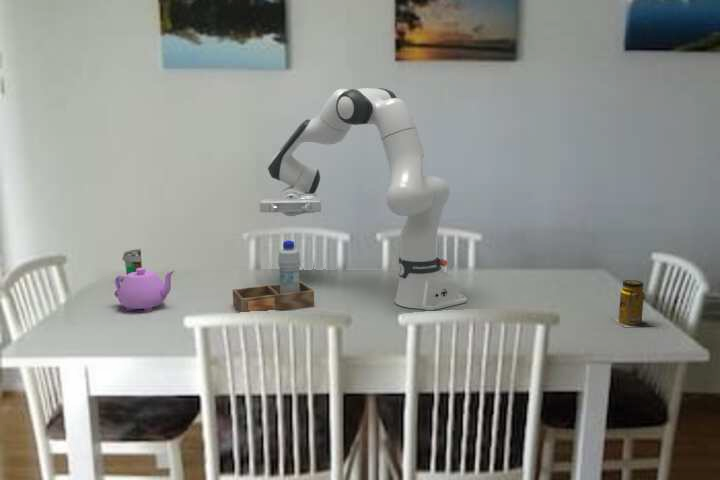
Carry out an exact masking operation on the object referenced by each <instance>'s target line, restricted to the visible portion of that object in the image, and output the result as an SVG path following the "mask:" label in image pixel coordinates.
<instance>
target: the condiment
mask: <svg viewBox="0 0 720 480" xmlns="http://www.w3.org/2000/svg"><path fill="white" fill-rule="evenodd" d="M644 298H645V293H644V283H643V281H640V280H635V279H625V280H623V281H622V289H621V290H620V298H619V309H618V318H613V321H615V322H616V323H618V324H619V325H620V326H622V327H624V328H638V327H639V328H640V327H654V326H655V325H654V324H652V323H650V322H648V321H647V320H645V319H643V311H644V309H643V308H644V300H645V299H644Z"/></svg>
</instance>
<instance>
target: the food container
mask: <svg viewBox="0 0 720 480" xmlns="http://www.w3.org/2000/svg"><path fill="white" fill-rule="evenodd" d="M121 260H122V261H124V266H125V271H126V275H128V274H129V273H132V272H136V269H137V268H143V263H142V262H143V261H142V250H141V248H136V249H130V250H126V251H125V252H123V255H122V259H121Z"/></svg>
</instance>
